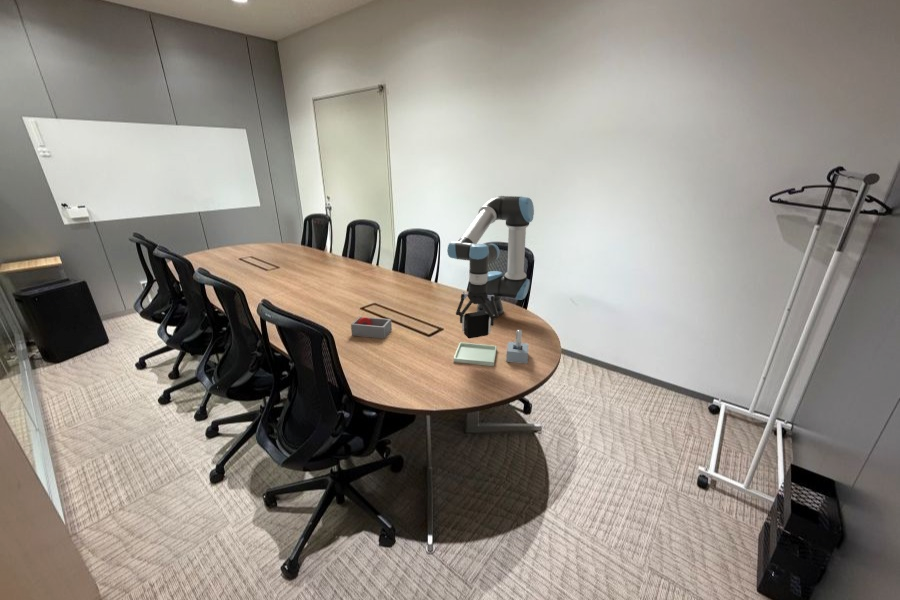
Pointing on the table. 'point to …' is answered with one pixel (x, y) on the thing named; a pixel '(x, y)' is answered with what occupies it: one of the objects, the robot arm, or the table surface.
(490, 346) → the tray
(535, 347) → the table surface
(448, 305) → the table surface
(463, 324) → the robot arm
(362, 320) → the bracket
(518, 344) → the cylinder
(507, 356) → the square hole cube
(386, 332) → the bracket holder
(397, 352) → the table surface
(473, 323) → the electronic device
